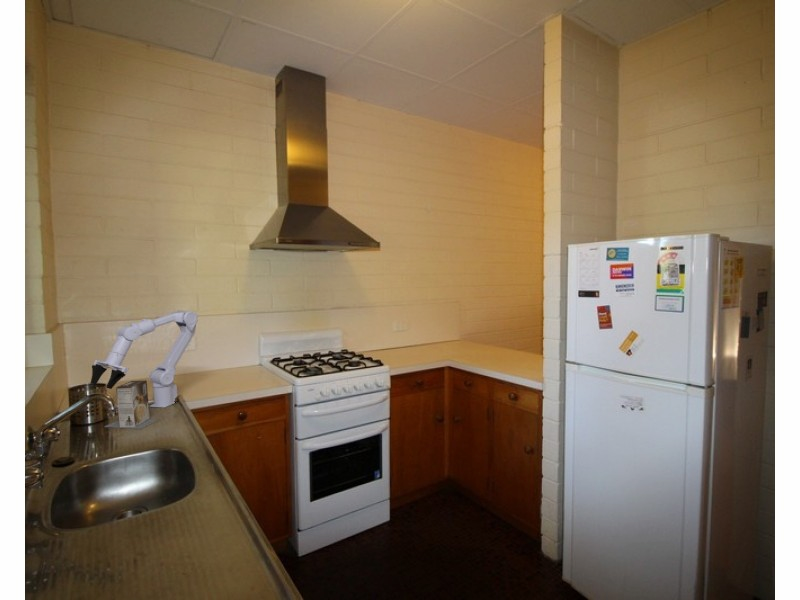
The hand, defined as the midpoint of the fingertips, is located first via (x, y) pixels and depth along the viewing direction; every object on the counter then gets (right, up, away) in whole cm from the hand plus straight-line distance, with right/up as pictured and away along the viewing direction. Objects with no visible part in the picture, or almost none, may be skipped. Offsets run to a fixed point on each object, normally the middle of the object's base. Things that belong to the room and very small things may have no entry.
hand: (100, 386), depth 164 cm
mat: (+13, -15, -1) cm, 20 cm away
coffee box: (+14, -15, -1) cm, 20 cm away
